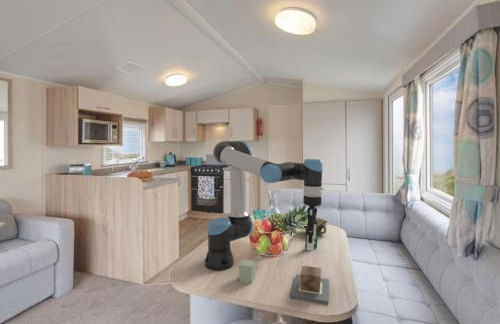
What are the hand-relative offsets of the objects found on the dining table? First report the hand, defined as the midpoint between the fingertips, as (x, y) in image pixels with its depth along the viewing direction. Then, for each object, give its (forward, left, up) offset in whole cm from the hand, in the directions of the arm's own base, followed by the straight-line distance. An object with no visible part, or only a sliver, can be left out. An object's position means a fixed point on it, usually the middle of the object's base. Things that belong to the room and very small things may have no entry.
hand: (311, 244), depth 115 cm
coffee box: (-3, +46, -21) cm, 50 cm away
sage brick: (-29, 0, -20) cm, 35 cm away
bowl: (-3, +74, -21) cm, 77 cm away
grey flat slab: (0, 0, -20) cm, 20 cm away
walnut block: (0, 0, -19) cm, 19 cm away
